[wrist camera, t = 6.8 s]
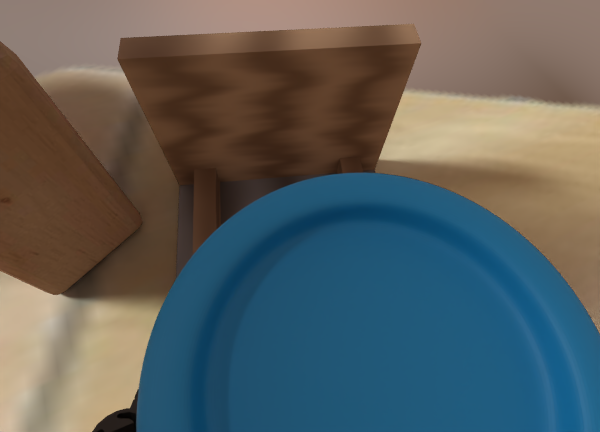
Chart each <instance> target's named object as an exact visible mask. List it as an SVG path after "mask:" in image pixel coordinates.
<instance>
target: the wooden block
mask: <svg viewBox="0 0 600 432" xmlns="http://www.w3.org/2000/svg"><path fill="white" fill-rule="evenodd" d="M141 224H142V219H141V216H140V213H139V212H138V211H137V210H136V208H135V207H134V206H133V204H132V203H131V202H130V201H129V199H128V198H127V197H126V195H125V194H124V193H123V192H122V190H121V189H120V188H119V186H118V185H117V184H116V182H115V181H114V180H113V179H112V177H111V176H110V175H109V173H108V172H107V171H106V170H105V168H104V167H103V166H102V164H101V163H100V162H99V161H98V159H97V158H96V157H95V155H94V154H93V153H92V152H91V150H90V149H89V148H88V146H87V145H86V144H85V142H84V141H83V140H82V139H81V137H80V136H79V135H78V133H77V132H76V131H75V130H74V128H73V127H72V126H71V124H70V123H69V122H68V121H67V119H66V118H65V117H64V115H63V114H62V113H61V111H60V110H59V109H58V108H57V106H56V105H55V104H54V102H53V101H52V100H51V99H50V97H49V96H48V95H47V93H46V92H45V91H44V90H43V88H42V87H41V86H40V84H39V83H38V82H37V81H36V79H35V78H34V77H33V75H32V74H31V73H30V72H29V70H28V69H27V68H26V67H25V65H24V64H23V62H22V61H21V60H20V59H19V57H18V56H17V55H16V54H15V53H14V52H13V51H11V50H10V49H9V48H8V47H6V46H5V45H4V44H3V43H2V42H0V271H2V272H4V273H6V274H8V275H11V276H13V277H15V278H17V279H19V280H21V281H23V282H26V283H28V284H30V285H32V286H34V287H36V288H38V289H41V290H43V291H45V292H47V293H50V294H53V295H58V294H60V293H63V292H65V291H66V290H67V289H69V288H70V287H71V286H72V285H73V284H74V283H76V282H77V281H78V280H79V279H80V278H81V277H83V276H84V275H85V274H86V273H87V272H88V271H90V270H91V269H92V268H93V267H94V266H95V265H97V264H98V263H99V262H100V261H101V260H102V259H104V258H105V257H106V256H107V255H108V254H109V253H111V252H112V251H113V250H114V249H115V248H116V247H117V246H119V245H120V244H121V243H122V242H123V241H124V240H126V239H127V238H128V237H129V236H130V235H131V234H133V233H134V232H135V231H136V230H137V229H138V228H139V227H140V225H141Z"/></svg>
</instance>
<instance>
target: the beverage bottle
mask: <svg viewBox="0 0 600 432" xmlns="http://www.w3.org/2000/svg"><path fill="white" fill-rule="evenodd" d="M136 432H600V334H599V332H598V330H597V328H596V326H595V325H594V323H593V321H592V319H591V318H590V316H589V314H588V312H587V311H586V309H585V308H584V306H583V304H582V303H581V301H580V300H579V298H578V297H577V296H576V294H575V293H574V291H573V290H572V289H571V287H570V286H569V285H568V283H567V282H566V281H565V279H564V278H563V277H562V276H561V274H560V273H559V272H558V271H557V270H556V268H555V267H554V266H553V265H552V264H551V263H550V262H549V261H548V260H547V259H546V257H545V256H544V255H543V254H542V253H541V252H540V251H539V250H538V249H537V248H536V247H535V246H533V245H532V244H531V243H530V242H529V241H528V240H527V239H526V238H525V237H523V236H522V235H521V234H520V233H519V232H517V231H516V230H515V229H514V228H512V227H511V226H510V225H509V224H507V223H506V222H504V221H503V220H502V219H500V218H499V217H497V216H496V215H494V214H493V213H491V212H490V211H488V210H486V209H485V208H483V207H481V206H480V205H478V204H476V203H474V202H472V201H471V200H469V199H467V198H465V197H463V196H460V195H458V194H456V193H454V192H451V191H449V190H447V189H444V188H441V187H439V186H436V185H433V184H430V183H427V182H423V181H419V180H416V179H411V178H407V177H402V176H396V175H389V174H380V173H341V174H333V175H326V176H320V177H315V178H311V179H307V180H303V181H300V182H297V183H294V184H291V185H288V186H285V187H283V188H280V189H278V190H276V191H273V192H271V193H269V194H267V195H265V196H263V197H261V198H259V199H258V200H256V201H254V202H252V203H251V204H249V205H248V206H246V207H244V208H243V209H242V210H240V211H239V212H237V213H236V214H235V215H233V216H232V217H231V218H229V219H228V220H227V221H226V222H224V223H223V224H222V225H221V226H220V227H219V228H218V229H217V230H216V231H214V232H213V233H212V234H211V235H210V236H209V237H208V238H207V239H206V241H205V242H204V243H203V244H202V245H201V246H200V247H199V248H198V250H197V251H196V252H195V253H194V254H193V256H192V257H191V258H190V260H189V261H188V262H187V264H186V265H185V267H184V268H183V269H182V271H181V272H180V274H179V276H178V277H177V279H176V280H175V282H174V284H173V285H172V287H171V289H170V291H169V293H168V295H167V297H166V299H165V301H164V303H163V305H162V307H161V309H160V312H159V314H158V316H157V319H156V321H155V324H154V327H153V330H152V333H151V336H150V339H149V342H148V346H147V349H146V353H145V357H144V361H143V366H142V371H141V377H140V383H139V391H138V401H137V419H136Z"/></svg>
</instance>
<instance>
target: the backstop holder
mask: <svg viewBox="0 0 600 432" xmlns="http://www.w3.org/2000/svg"><path fill="white" fill-rule="evenodd" d="M420 46H421V41H420V38H419V36H418V33H417V31H416V28H415V26H414V24H405V25H404V24H403V25H382V26H362V27H342V28H322V29H321V28H320V29H300V30H279V31H258V32H237V33H217V34H198V35H197V34H196V35H175V36H156V37H134V38H121V40H120V46H119V53H118V61H119V63H120V65H121V67H122V69H123V71H124V73H125V75H126V77H127V80H128V82H129V84H130V86H131V88H132V90H133V92H134V94H135V96H136V98H137V100H138V102H139V104H140V106H141V108H142V110H143V112H144V114H145V116H146V118H147V120H148V122H149V124H150V126H151V128H152V130H153V132H154V134H155V136H156V138H157V140H158V142H159V144H160V147H161V149H162V151H163V153H164V155H165V157H166V159H167V161H168V163H169V165H170V167H171V169H172V171H173V173H174V175H175V177H176V179H177V181H178V183H179V185H180V188H179V214H178V240H177V266H176V279H177V277H178V276H179V274H180V272H181V271H182V269H183V268H184V267H185V265H186V264H187V262H188V261H189V260H190V258H191V257H192V256H193V254H194V253H195V252H196V251H197V250H198V248H199V247H200V246H201V245H202V244H203V243H204V242H205V241H206V239H207V238H208V237H209V236H210V235H211V234H212V233H213V232H214V231H216V230H217V229H218V228H219V227H220V226H221V225H222V224H223V223H224V222H226V221H227V220H228V219H229V218H231V217H232V216H233V215H235V214H236V213H237V212H239V211H240V210H242V209H243V208H244V207H246V206H248V205H249V204H251V203H252V202H254V201H256V200H258V199H259V198H261V197H263V196H265V195H267V194H269V193H271V192H273V191H276V190H278V189H280V188H283V187H285V186H288V185H291V184H294V183H297V182H300V181H303V180H307V179H311V178H315V177H320V176H326V175H333V174H341V173H375V167H376V164H377V162H378V159H379V156H380V153H381V151H382V148H383V145H384V143H385V140H386V137H387V135H388V132H389V129H390V126H391V124H392V121H393V118H394V116H395V113H396V110H397V108H398V105H399V102H400V99H401V97H402V94H403V91H404V89H405V86H406V83H407V81H408V78H409V75H410V73H411V70H412V67H413V64H414V61H415V59H416V56H417V54H418V51H419V48H420Z"/></svg>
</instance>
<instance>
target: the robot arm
mask: <svg viewBox="0 0 600 432" xmlns="http://www.w3.org/2000/svg"><path fill="white" fill-rule="evenodd" d="M138 391H139V389H138V390H137V393H136V395H135V400H133V402H132V405H131V407H130V409H129V408H127V409H123V410H119V411H116V412H114V413H112V414H110V415H108V416H107V417H105V418H104V419H103V420H102V421H101V422H99V423H98V424H97V426H96V427H95V429H94V430H93V431H92V432H136V419H137V401H138Z"/></svg>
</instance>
